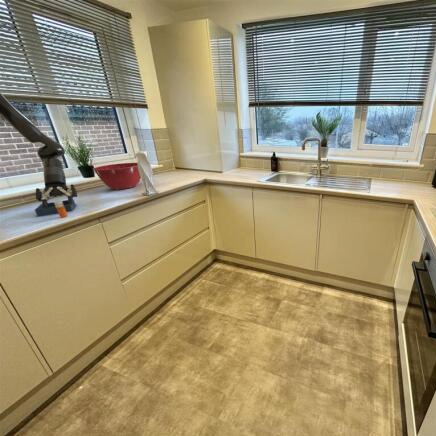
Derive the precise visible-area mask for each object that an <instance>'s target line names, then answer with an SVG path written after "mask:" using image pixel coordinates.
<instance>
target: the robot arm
mask: <svg viewBox="0 0 436 436" xmlns="http://www.w3.org/2000/svg"><path fill="white" fill-rule="evenodd" d="M0 116H1V117H2V118H3V120H5V121H6V122H7V123H8V124H9V125H10V126H11V127H12V128H13V129H14V130H15V131H16V132H17V133H19V134H20V135H21V136H22V137H23V138H24V139H25V140H26V141H28V142H29V143H30V144H42V146H40V147H39V148H37V151H36V154H37V156H38V158H39V159H40V161H41V163H42V166H43V181H44V188H39V187H36V189H35V199H36V200H37V202H39V203H41V204H42V205H43V207H44V208H46V209H47V208H48V203H49V202H48V201H49V200H51V199H52V198H53V197H61V196H65V197H66V198H67V200H68V203H69V205H72V204H73V199H74V198H77V197H78V192H77V189H76V186H75V185H74V184H72V183H71V184H70V185H67V179H66V174H65V170H64V164H63V162H62V161H61V159H59V158H60V157H62V156H64V155H65V154H66V150H65V148H64V146H62V144H60V143H59V142H58V141H56V140H54V139H52V138H51V137H50V136H48V135H46V134H45V133H44V132H42V131H41V130H40V129H39V128H38V127H37V126H36V125H35V123H33V122H32V121H31V120H29V118H27V117H26V116H25V115H24V114H22V112H20V111H19V110H18V109H17V108H15V106H13V105H12V104H11V103H10V102H9V100H7V98H6V97H5V96H4V95H3V94H2V92H0ZM69 190H70V191H71V193H69V192H68V191H69Z"/></svg>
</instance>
